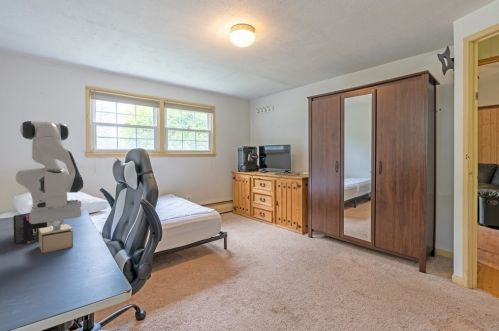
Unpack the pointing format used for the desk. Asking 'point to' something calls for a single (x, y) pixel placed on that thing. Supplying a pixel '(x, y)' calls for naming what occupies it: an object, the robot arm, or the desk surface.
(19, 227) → the tampon box
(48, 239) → the carton
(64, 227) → the lid
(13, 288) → the desk surface
